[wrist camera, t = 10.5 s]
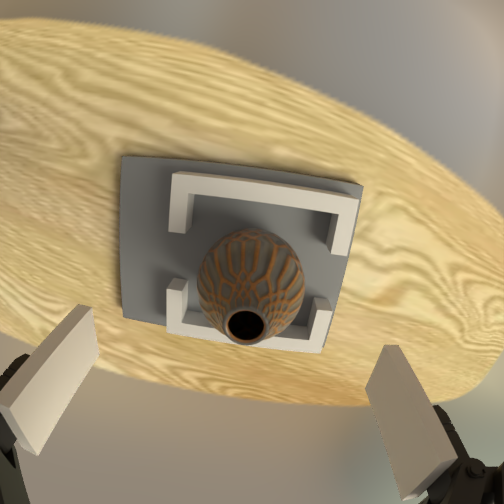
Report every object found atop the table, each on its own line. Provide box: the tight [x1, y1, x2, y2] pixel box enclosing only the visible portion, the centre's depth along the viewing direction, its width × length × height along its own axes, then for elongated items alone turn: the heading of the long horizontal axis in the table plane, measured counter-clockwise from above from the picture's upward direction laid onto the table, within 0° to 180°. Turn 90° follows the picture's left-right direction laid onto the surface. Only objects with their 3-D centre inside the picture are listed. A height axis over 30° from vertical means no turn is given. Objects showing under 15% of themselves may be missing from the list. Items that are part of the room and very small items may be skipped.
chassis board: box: [119, 156, 364, 353], centre depth 23 cm, size 18×14×3 cm
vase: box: [197, 228, 305, 345], centre depth 19 cm, size 7×7×9 cm
